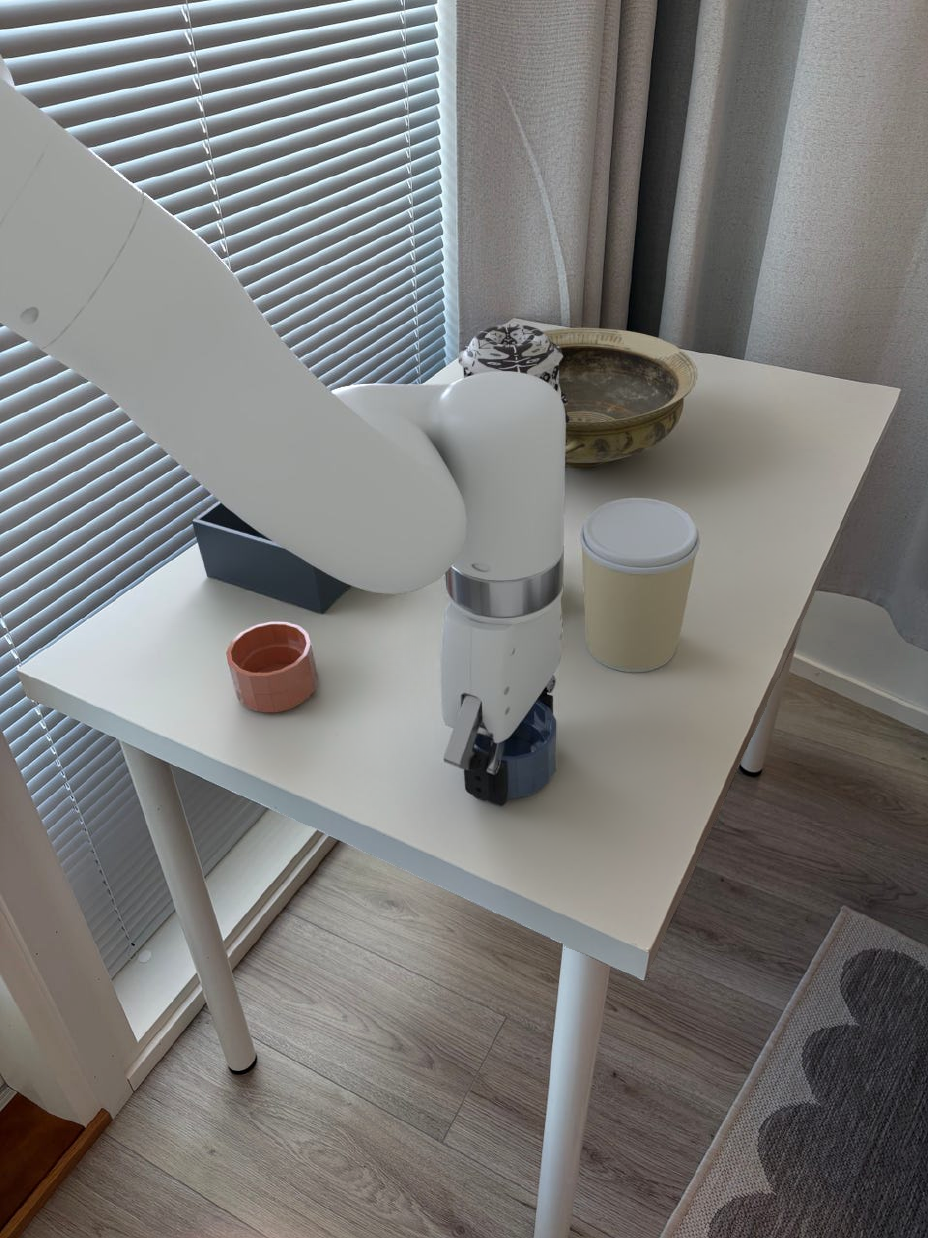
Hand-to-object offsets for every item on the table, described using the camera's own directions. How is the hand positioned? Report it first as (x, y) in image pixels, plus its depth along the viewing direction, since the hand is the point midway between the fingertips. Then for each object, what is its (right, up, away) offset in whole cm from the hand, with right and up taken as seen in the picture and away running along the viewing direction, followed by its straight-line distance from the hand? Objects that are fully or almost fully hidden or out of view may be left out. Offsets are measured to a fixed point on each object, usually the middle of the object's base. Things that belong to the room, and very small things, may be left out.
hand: (510, 760), depth 71 cm
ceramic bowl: (+10, +30, +38) cm, 49 cm away
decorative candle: (+1, +13, +17) cm, 21 cm away
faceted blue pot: (0, -1, 0) cm, 1 cm away
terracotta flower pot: (-19, +5, +9) cm, 22 cm away
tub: (-19, +17, +24) cm, 35 cm away
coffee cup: (+11, +8, +11) cm, 18 cm away
